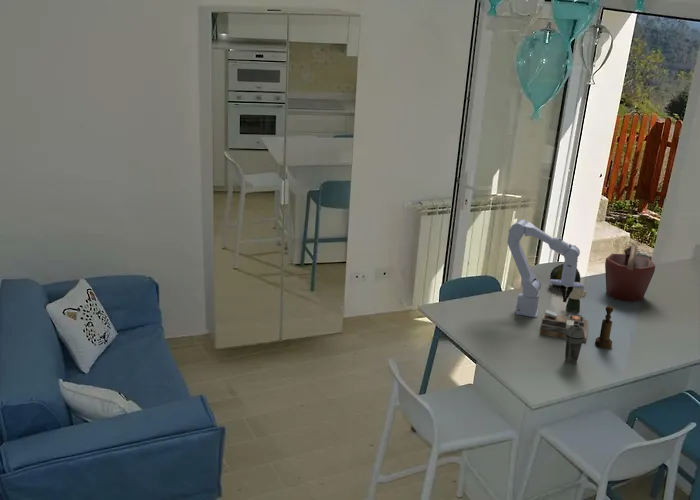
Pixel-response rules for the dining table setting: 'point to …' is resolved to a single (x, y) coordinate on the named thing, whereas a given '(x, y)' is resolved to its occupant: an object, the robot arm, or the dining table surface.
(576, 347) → the beverage cup
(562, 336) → the panel
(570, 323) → the slider knob
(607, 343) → the brown chess piece
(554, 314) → the grey flat tile
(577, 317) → the push button
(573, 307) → the character mug
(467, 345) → the dining table surface
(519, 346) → the dining table surface
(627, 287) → the bucket
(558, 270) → the squash
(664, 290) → the dining table surface
